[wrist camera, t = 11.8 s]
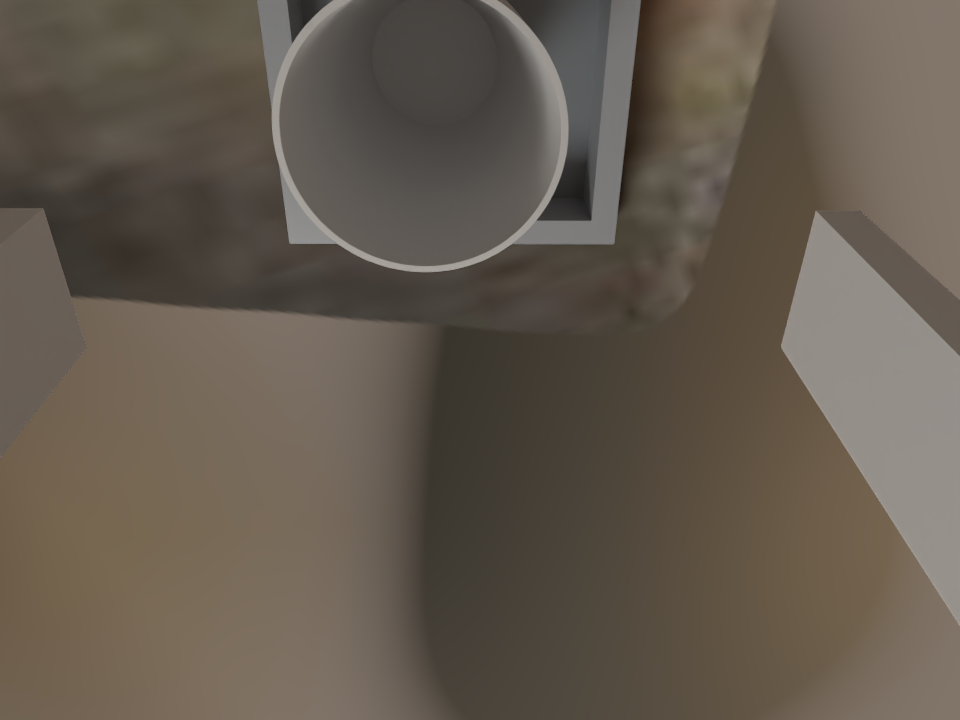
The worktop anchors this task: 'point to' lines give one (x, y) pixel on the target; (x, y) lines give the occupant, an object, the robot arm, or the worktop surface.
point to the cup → (420, 129)
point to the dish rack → (588, 93)
